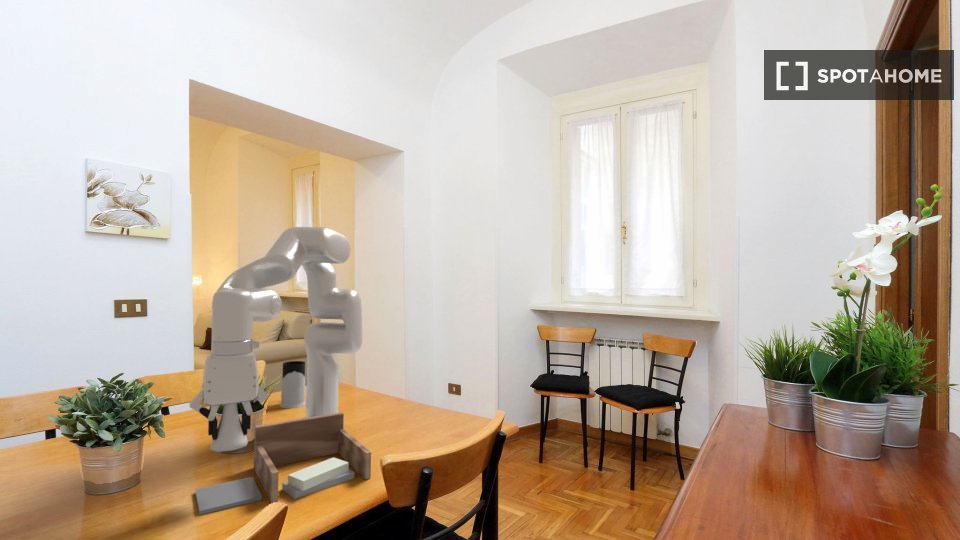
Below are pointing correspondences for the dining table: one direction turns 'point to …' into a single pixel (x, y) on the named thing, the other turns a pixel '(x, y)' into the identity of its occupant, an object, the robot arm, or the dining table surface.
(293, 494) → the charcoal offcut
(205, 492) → the slate coaster
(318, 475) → the sage offcut
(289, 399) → the glass holder
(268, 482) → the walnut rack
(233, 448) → the flask
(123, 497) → the dining table surface
